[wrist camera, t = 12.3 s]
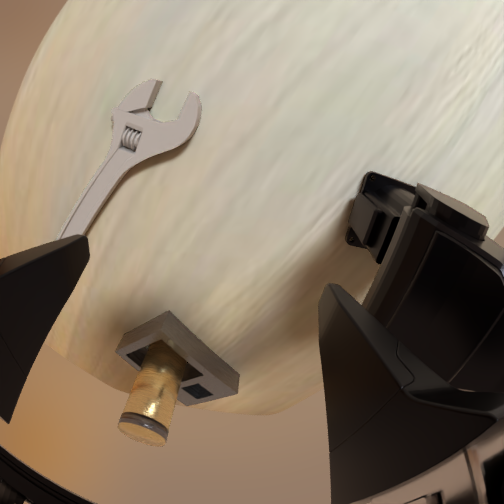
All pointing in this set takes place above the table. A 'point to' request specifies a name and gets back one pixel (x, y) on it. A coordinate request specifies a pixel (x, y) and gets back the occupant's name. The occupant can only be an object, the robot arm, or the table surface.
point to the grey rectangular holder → (192, 350)
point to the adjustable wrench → (137, 138)
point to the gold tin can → (153, 396)
